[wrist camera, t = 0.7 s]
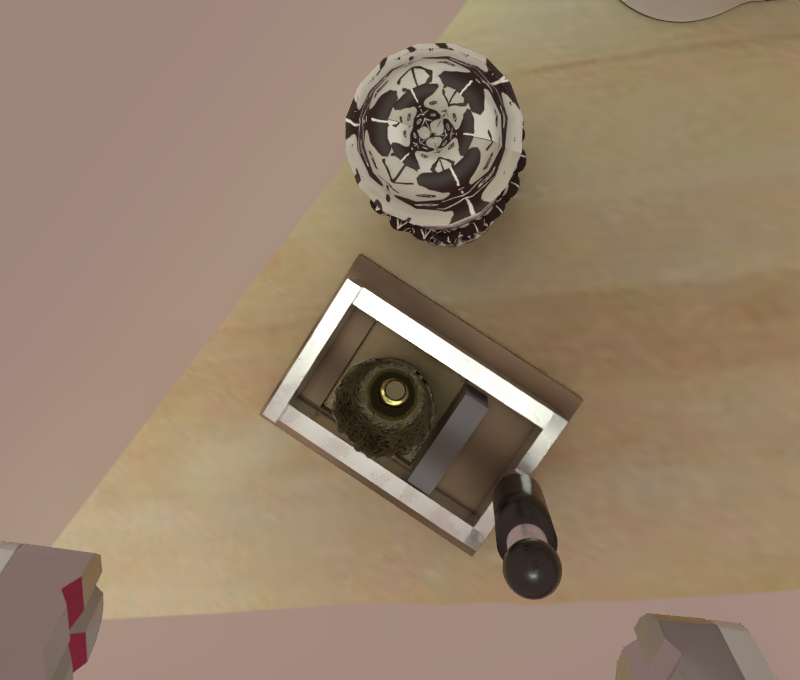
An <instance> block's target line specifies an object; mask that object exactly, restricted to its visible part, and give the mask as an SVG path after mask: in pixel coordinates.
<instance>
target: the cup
mask: <svg viewBox="0 0 800 680" xmlns="http://www.w3.org/2000/svg"><path fill="white" fill-rule="evenodd" d="M392 381H398V382H400V383H402V384H403V386H404V388H405V393H404V396H403V397H402V398H401V399H399V400H392V399H390V398H389V397H388V396H387V394H386V386H387V385H388V383H390V382H392ZM341 382H342V383H341V384H340V385H339V386H338V388H337V389H336V391H335V394H336V398H335V401H334V403H333V408H332V415H333V417H334V419H335V422H336V423H337V426H336V428H337V431H338V433H339V434H343V433H344V434H345V435H346V436H347V437H348V440H349V441H351V442H352V443H353V444H354V450H355V451H357V452H361V451H362V452H363V454H364V455H365V456H366V457H367V458H369V459H377V458H380V457H386V459H388V460H391V459H393V458H395V457H396V455H397V454H398V453H399V454H400V455H407V454H409V453H410V452H411V451H412V450H413V449H416V448H418V447H419V446H420V445H421V443H422V441H423V439H424V436H425V435H429V433H430V430H431V424H432V422H433V420H434V416H435V406H434V401H433V396H432V392H431V389H430V387H429V384H428V382H427V380H426V379H425V377H424V376H423V374H422V373H421V372H420V371H419V370H418V369H417V368H416V367H414V366H413V365H412V364H410V363H408V362H406V361H404V360H400V359H396V358H378V359H370V360H367V361H366V362H364V363H361V364H358V365H356V366H354V367H353V368H351V369H350V371H349V372H348V373H347V374H346V375H345V376H344V377H343V380H342V381H341Z"/></svg>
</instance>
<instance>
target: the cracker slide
mask: <svg viewBox="0 0 800 680" xmlns="http://www.w3.org/2000/svg"><path fill="white" fill-rule="evenodd" d="M356 306H357V307H358V308H360V309H361V310H363V311H364V312H366V313H368V314H369V315H371V316H372V317H374V318H375V319H377V320H378V321H380V322H381V323H383V324H384V325H386V326H387V327H389V328H390V329H392V330H393V331H395V332H396V333H398V334H399V335H401V336H403V337H404V338H406V339H407V340H409V341H410V342H412V343H413V344H415V345H416V346H418V347H419V348H421V349H422V350H424V351H425V352H427V353H428V354H430V355H431V356H433V357H434V358H436V359H437V360H439V361H441V362H442V363H444V364H445V365H447V366H448V367H450V368H451V369H453V370H454V371H456V372H457V373H459V374H460V375H462V376H463V377H465V378H466V379H468V380H469V381H471V382H472V383H474V384H476V385H477V386H479V387H480V388H482V389H483V390H485V391H486V392H488V393H489V394H491V395H492V396H494V397H495V398H497V399H498V400H500V401H501V402H503V403H504V404H506V405H507V406H509V407H511V408H512V409H514V410H515V411H517V412H518V413H520V414H521V415H523V416H524V417H526V418H527V419H529V420H530V421H532V422H533V423H535V424H536V426H535V427H534V429H533V430H532V432H531V433H530V435H529V436H528V437H527V439H526V440H525V442H524V443H523V444H522V446H521V447H520V449H519V450H518V452H517V453H516V454H515V456H514V457H513V459H512V460H511V462H510V463H509V464H508V466H507V467H506V469H505V470H504V472H503V473H502V474H501V476H500V477H499V479H498V480H497V481H496V483H495V484H494V486H493V487H492V489H491V490H490V491H489V493H488V494H487V496H486V497H485V499H484V500H483V501H482V503H481V504H480V506H479V507H478V509H477V510H476V511H475V513H474V514H473V513H472V512H470V511H469V510H467V509H466V508H464V507H463V506H461V505H460V504H458V503H457V502H455V501H454V500H452V499H451V498H449V497H448V496H446V495H445V494H443V493H442V492H440V491H439V490H437V489H436V488H434V490H433V491H432V492H431V494H430V495H428V494H427V493H425V492H424V491H422V490H421V489H419V488H418V487H416V486H415V485H413V484H412V483H410V482H409V481H407V480H408V477H409V474H410V471H409V470H407V469H406V468H404V467H403V466H401V465H400V464H398V463H397V462H395V461H394V460H392V459H391V460H388V459H386V457H380V458H377V459H369V458H367V457H366V456H365V455H364V454H363V452H362V451H361V452H357V451H355V450H354V444H353V443H352V442H351V441H349V440H348V437H347V436H346V435H345V434H344V433H343V434H339V433H338V431H337V428H336V426H337V423H336V422H335V421H333V420H332V419H330V418H329V417H327V416H326V415H324V414H323V413H321V412H320V411H318V410H317V409H315V408H314V407H312V406H311V405H309V404H308V403H306V402H305V401H303V400H302V399H300V398H299V396H300V394H301V393H302V391H303V390H304V388H305V386H306V385H307V383H308V382H309V380H310V379H311V377H312V375H313V374H314V372H315V371H316V369H317V368H318V366H319V364H320V363H321V361H322V360H323V358H324V356H325V355H326V353H327V352H328V350H329V349H330V347H331V345H332V344H333V342H334V341H335V339H336V338H337V336H338V334H339V333H340V331H341V330H342V328H343V326H344V325H345V323H346V322H347V320H348V319H349V317H350V315H351V314H352V312H353V311H354V309H355V308H356ZM263 415H264V416H266V417H267V418H269V419H270V420H272V421H273V422H275V423H276V422H277V421H278V420H280V421H281V422H283V423H284V424H286V425H287V426H289V427H290V428H292V429H293V430H295V431H296V432H298V433H299V434H301V435H302V436H304V437H305V438H307V439H308V440H310V441H311V442H313V443H314V444H316V445H317V446H319V447H320V448H322V449H323V450H325V451H326V452H328V453H329V454H331V455H332V456H334V457H335V458H337V459H338V460H340V461H341V462H343V463H344V464H346V465H347V466H349V467H350V468H352V469H353V470H355V471H356V472H358V473H359V474H361V475H362V476H364V477H365V478H367V479H368V480H370V481H371V482H373V483H374V484H376V485H377V486H379V487H380V488H382V489H383V490H385V491H386V492H388V493H389V494H391V495H392V496H394V497H395V498H397V499H398V500H400V501H401V502H403V503H404V504H406V505H407V506H409V507H410V508H412V509H413V510H415V511H416V512H418V513H419V514H421V515H422V516H424V517H425V518H427V519H428V520H430V521H431V522H433V523H434V524H436V525H437V526H439V527H440V528H442V529H443V530H445V531H446V532H448V533H449V534H451V535H452V536H454V537H455V538H457V539H458V540H460V541H461V542H463V543H464V544H466V545H467V546H469V547H470V548H471V549H473V550H474V551H477V550H478V548H479V547H480V545H481V544H482V543H483V541H484V540H485V538H486V537H487V536H488V534H489V533H490V531H491V530H492V528H493V527H494V526H495V531H496V542H497V549H498V552H499V554H500V556H501V558H502V559H503V574H504V578H505V580H506V582H507V584H508V585H509V587H510V588H511V589H512V590H513V591H514V592H515V593H516V594H518V595H519V596H521V597H523V598H527V599H533V600H536V599H542V598H545V597H547V596H549V595H550V594H552V593H553V592H554V591H555V590H556V588H557V587H558V585H559V583H560V580H561V576H562V565H561V561H560V558H559V556H558V554H557V552H556V551H557V536H556V533H555V530H554V527H553V524H552V521H551V517H550V514H549V511H548V508H547V505H546V502H545V499H544V496H543V493H542V490H541V487H540V486H539V484H538V483H537V482H536V481H535V480H534V479H533V478H531V477H530V475H531V474H532V472H533V471H534V469H535V468H536V467H537V465H538V464H539V462H540V461H541V460H542V458H543V457H544V455H545V454H546V452H547V451H548V450H549V448H550V447H551V445H552V444H553V443H554V441H555V440H556V438H557V437H558V436H559V434H560V433H561V431H562V430H563V429H564V427H565V426H566V424H567V423H568V421H567V419H566V418H565V416H564V415H563V413H561V412H560V411H558V410H557V409H555V408H554V407H552V406H551V405H549V404H548V403H546V402H545V401H543V400H542V399H540V398H539V397H537V396H535V395H534V394H532V393H531V392H529V391H528V390H526V389H525V388H523V387H522V386H520V385H519V384H517V383H516V382H514V381H513V380H511V379H510V378H508V377H506V376H505V375H503V374H502V373H500V372H499V371H497V370H496V369H494V368H493V367H491V366H490V365H488V364H487V363H485V362H484V361H482V360H481V359H479V358H478V357H476V356H474V355H473V354H471V353H470V352H468V351H467V350H465V349H464V348H462V347H461V346H459V345H458V344H456V343H455V342H453V341H452V340H450V339H449V338H447V337H445V336H444V335H442V334H441V333H439V332H438V331H436V330H435V329H433V328H432V327H430V326H429V325H427V324H426V323H424V322H423V321H421V320H420V319H418V318H416V317H415V316H413V315H412V314H410V313H409V312H407V311H406V310H404V309H403V308H401V307H400V306H398V305H397V304H395V303H394V302H392V301H391V300H389V299H388V298H386V297H384V296H383V295H381V294H380V293H378V292H377V291H375V290H374V289H372V288H371V287H369V286H368V285H366V284H365V283H363V282H362V281H360V280H359V279H357V278H352V279H347V280H346V282H345V283H344V285H343V287H342V288H341V290H340V291H339V293H338V295H337V296H336V298H335V299H334V301H333V302H332V304H331V306H330V307H329V309H328V310H327V312H326V314H325V315H324V317H323V318H322V320H321V322H320V323H319V325H318V326H317V328H316V330H315V331H314V333H313V334H312V336H311V338H310V339H309V341H308V342H307V344H306V346H305V347H304V349H303V350H302V352H301V354H300V355H299V357H298V358H297V360H296V362H295V363H294V365H293V366H292V368H291V370H290V371H289V373H288V374H287V376H286V378H285V379H284V381H283V382H282V384H281V386H280V387H279V389H278V390H277V392H276V393H275V395H274V397H273V398H272V400H271V401H270V403H269V405H268V406H267V408H266V409H265V411H264V413H263Z"/></svg>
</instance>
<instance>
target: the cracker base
mask: <svg viewBox="0 0 800 680" xmlns="http://www.w3.org/2000/svg"><path fill="white" fill-rule="evenodd" d="M352 278H357V279H359V280H360V281H362V282H363V283H365V284H366V285H368V286H369V287H371V288H372V289H374V290H375V291H377V292H378V293H380V294H381V295H383V296H384V297H386V298H388V299H389V300H391V301H392V302H394V303H395V304H397V305H398V306H400V307H401V308H403V309H404V310H406V311H407V312H409V313H410V314H412V315H413V316H415V317H416V318H418V319H420V320H421V321H423V322H424V323H426V324H427V325H429V326H430V327H432V328H433V329H435V330H436V331H438V332H439V333H441V334H442V335H444V336H445V337H447V338H449V339H450V340H452V341H453V342H455V343H456V344H458V345H459V346H461V347H462V348H464V349H465V350H467V351H468V352H470V353H471V354H473V355H474V356H476V357H478V358H479V359H481V360H482V361H484V362H485V363H487V364H488V365H490V366H491V367H493V368H494V369H496V370H497V371H499V372H500V373H502V374H503V375H505V376H506V377H508V378H510V379H511V380H513V381H514V382H516V383H517V384H519V385H520V386H522V387H523V388H525V389H526V390H528V391H529V392H531V393H532V394H534V395H535V396H537V397H539V398H540V399H542V400H543V401H545V402H546V403H548V404H549V405H551V406H552V407H554V408H555V409H557V410H558V411H560V412H561V413H563V415H564V416H565V418H566V419H567V421H569V420H570V418H571V417H572V416H573V414H574V413H575V411H576V410H577V409H578V407H579V406H580V404H581V403H582V401H583V399H582V398H580V397H579V396H577V395H576V394H574V393H573V392H571V391H570V390H568V389H567V388H565V387H564V386H562V385H561V384H559V383H558V382H556V381H555V380H553V379H551V378H550V377H548V376H547V375H545V374H544V373H542V372H541V371H539V370H538V369H536V368H535V367H533V366H532V365H530V364H529V363H527V362H525V361H524V360H522V359H521V358H519V357H518V356H516V355H515V354H513V353H512V352H510V351H509V350H507V349H506V348H504V347H503V346H501V345H499V344H498V343H496V342H495V341H493V340H492V339H490V338H489V337H487V336H486V335H484V334H483V333H481V332H480V331H478V330H477V329H475V328H473V327H472V326H470V325H469V324H467V323H466V322H464V321H463V320H461V319H460V318H458V317H457V316H455V315H454V314H452V313H451V312H449V311H447V310H446V309H444V308H443V307H441V306H440V305H438V304H437V303H435V302H434V301H432V300H431V299H429V298H428V297H426V296H425V295H423V294H421V293H420V292H418V291H417V290H415V289H414V288H412V287H411V286H409V285H408V284H406V283H405V282H403V281H402V280H400V279H399V278H397V277H395V276H394V275H392V274H391V273H389V272H388V271H386V270H385V269H383V268H382V267H380V266H379V265H377V264H376V263H374V262H373V261H371V260H369V259H368V258H366V257H365V256H363V255H362V254H359V255H358V257H357V259H356V260H355V262H354V263H353V265H352V267H351V268H350V270H349V271H348V273H347V275H346V276H345V278H344V279H343V281H342V283H341V284H340V286H339V287H338V289H337V291H336V292H335V294H334V295H333V297H332V299H331V300H330V302H329V303H328V305H327V307H326V308H325V310H324V311H323V313H322V315H321V316H320V318H319V319H318V321H317V323H316V324H315V326H314V327H313V329H312V331H311V332H310V334H309V335H308V337H307V339H306V340H305V342H304V343H303V345H302V347H301V348H300V350H299V351H298V353H297V355H296V356H295V358H294V359H293V361H292V363H291V364H290V366H289V367H288V369H287V371H286V372H285V374H284V375H283V377H282V379H281V380H280V382H279V383H278V385H277V387H276V388H275V390H274V391H273V393H272V395H271V396H270V398H269V399H268V401H267V402H266V404H265V406H264V407H263V409H262V410H261V412H260V414H259V415H261V416H262V417H264V418H265V419H267V420H268V421H270V422H271V423H273V424H274V425H276V426H277V427H279V428H280V429H282V430H283V431H285V432H286V433H288V434H289V435H291V436H292V437H294V438H295V439H297V440H298V441H300V442H301V443H303V444H304V445H306V446H307V447H309V448H310V449H312V450H313V451H315V452H316V453H318V454H319V455H321V456H322V457H324V458H325V459H327V460H328V461H330V462H331V463H333V464H334V465H336V466H337V467H339V468H340V469H342V470H343V471H345V472H346V473H348V474H349V475H351V476H352V477H354V478H355V479H357V480H358V481H360V482H361V483H363V484H364V485H366V486H367V487H369V488H370V489H372V490H373V491H375V492H376V493H378V494H379V495H381V496H382V497H384V498H385V499H387V500H388V501H390V502H391V503H393V504H394V505H396V506H397V507H399V508H400V509H402V510H403V511H405V512H406V513H408V514H409V515H411V516H412V517H414V518H415V519H417V520H418V521H419V522H421V523H422V524H424V525H425V526H427V527H428V528H430V529H431V530H433V531H434V532H436V533H437V534H439V535H440V536H442V537H443V538H445V539H446V540H448V541H449V542H451V543H452V544H454V545H455V546H457V547H458V548H460V549H461V550H463V551H464V552H466V553H467V554H469V555H470V556H473V555H474V553H475V552H476V551H474V550H473V549H471V548H470V547H469V546H467V545H466V544H464V543H463V542H461V541H460V540H458V539H457V538H455V537H454V536H452V535H451V534H449V533H448V532H446V531H445V530H443V529H442V528H440V527H439V526H437V525H436V524H434V523H433V522H431V521H430V520H428V519H427V518H425V517H424V516H422V515H421V514H419V513H418V512H416V511H415V510H413V509H412V508H410V507H409V506H407V505H406V504H404V503H403V502H401V501H400V500H398V499H397V498H395V497H394V496H392V495H391V494H389V493H388V492H386V491H385V490H383V489H382V488H380V487H379V486H377V485H376V484H374V483H373V482H371V481H370V480H368V479H367V478H365V477H364V476H362V475H361V474H359V473H358V472H356V471H355V470H353V469H352V468H350V467H349V466H347V465H346V464H344V463H343V462H341V461H340V460H338V459H337V458H335V457H334V456H332V455H331V454H329V453H328V452H326V451H325V450H323V449H322V448H320V447H319V446H317V445H316V444H314V443H313V442H311V441H310V440H308V439H307V438H305V437H304V436H302V435H301V434H299V433H298V432H296V431H295V430H293V429H292V428H290V427H289V426H287V425H286V424H284V423H283V422H281V421H280V420H278V421H277V422H276V423H275V422H273V421H272V420H270V419H269V418H267V417H266V416H264V415H263V413H264V411H265V409H266V408H267V406H268V405H269V403H270V401H271V400H272V398H273V397H274V395H275V393H276V392H277V390H278V389H279V387H280V386H281V384H282V382H283V381H284V379H285V378H286V376H287V374H288V373H289V371H290V370H291V368H292V366H293V365H294V363H295V362H296V360H297V358H298V357H299V355H300V354H301V352H302V350H303V349H304V347H305V346H306V344H307V342H308V341H309V339H310V338H311V336H312V334H313V333H314V331H315V330H316V328H317V326H318V325H319V323H320V322H321V320H322V318H323V317H324V315H325V314H326V312H327V310H328V309H329V307H330V306H331V304H332V302H333V301H334V299H335V298H336V296H337V295H338V293H339V291H340V290H341V288H342V287H343V285H344V283H345V282H346V280H347V279H352ZM376 320H377V319H375V318H374V317H372V316H371V315H369V314H368V313H366V312H364V311H363V310H361V309H360V308H358V307H357V306H356V308H355V309H354V311H353V312H352V314H351V315H350V317H349V319H348V320H347V322H346V323H345V325H344V326H343V328H342V330H341V331H340V333H339V334H338V336H337V338H336V339H335V341H334V342H333V344H332V345H331V347H330V349H329V350H328V352H327V353H326V355H325V356H324V358H323V360H322V361H321V363H320V364H319V366H318V368H317V369H316V371H315V372H314V374H313V375H312V377H311V379H310V380H309V382H308V383H307V385H306V386H305V388H304V390H303V391H302V393H301V394H300V396H299V398H300V399H302V400H303V401H305V402H306V403H308V404H309V405H311V406H312V407H314V408H315V409H317V410H318V411H320V412H321V413H323V414H324V415H326V416H327V417H329V418H330V419H332V420H333V421H335V419H334V417H333V415H332V410H330V409H329V408H327V407H326V406H324V405H323V403H324V401H325V400H326V398H327V397H328V395H329V394H330V392H331V391H332V389H333V387H334V386H335V384H336V383H337V381H338V380H339V378H340V377H341V375H342V373H343V372H344V370H345V369H346V367H347V366H348V364H349V362H350V361H351V359H352V358H353V356H354V355H355V353H356V352H357V350H358V348H359V347H360V345H361V344H362V342H363V341H364V339H365V338H366V336H367V334H368V333H369V331H370V330H371V328H372V327H373V325H374V323H375V322H376ZM535 426H536V424H535V423H533V422H532V421H530V420H529V419H527V418H526V417H524V416H523V415H521V414H520V413H518V412H517V411H515V410H514V409H512V408H511V407H509V406H507V405H506V404H504V403H503V402H501V401H500V400H498V399H497V398H495V397H494V396H492V395H491V394H489V393H488V392H486V391H485V390H483V389H482V388H480V387H479V386H477V385H476V384H474V383H472V382H471V381H469V380H468V379H467V381H466V382H465V384H464V385H463V387H462V388H461V390H460V391H459V393H458V394H457V396H456V397H455V399H454V400H453V402H452V403H451V405H450V406H449V408H448V409H447V410H446V412H445V413H444V415H443V416H442V418H441V419H440V421H439V422H438V424H437V425H436V427H435V428H434V430H433V431H432V433H431V434H430V436H429V437H428V439H427V440H426V442H425V443H424V445H423V446H422V447H421V449H420V450H419V452H418V453H417V455H416V456H415V458H414V459H413V461H412V462H411V463H410V462H409V461H407V460H406V459H404V458H403V457H401V456H400V455H398V454H397V455H396V457H395V458H393V459H392V460H394V461H395V462H397V463H398V464H400V465H401V466H403V467H404V468H406V469H407V470H409V471H410V474H409V477H408V480H407V481H409V482H410V483H412V484H413V485H415V486H416V487H418V488H419V489H421V490H422V491H424V492H425V493H427V494H428V495H430V494H431V492H432V491H433V490H434V488H436V489H437V490H439V491H440V492H442V493H443V494H445V495H446V496H448V497H449V498H451V499H452V500H454V501H455V502H457V503H458V504H460V505H461V506H463V507H464V508H466V509H467V510H469V511H470V512H472V513H473V514H474V513H475V511H476V510H477V509H478V507H479V506H480V504H481V503H482V501H483V500H484V499H485V497H486V496H487V494H488V493H489V491H490V490H491V489H492V487H493V486H494V484H495V483H496V481H497V480H498V479H499V477H500V476H501V474H502V473H503V472H504V470H505V469H506V467H507V466H508V464H509V463H510V462H511V460H512V459H513V457H514V456H515V454H516V453H517V452H518V450H519V449H520V447H521V446H522V444H523V443H524V442H525V440H526V439H527V437H528V436H529V435H530V433H531V432H532V430H533V429H534V427H535Z"/></svg>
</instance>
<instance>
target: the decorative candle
mask: <svg viewBox="0 0 800 680" xmlns="http://www.w3.org/2000/svg"><path fill="white" fill-rule="evenodd" d="M522 125H524V124H523V116H522V113H521V110H520V108H519V105H518V102H517V100H516V97H515V94H514V92H513V89H512V86H511V84H510V82H509V81H508V80H507V79H506V78H505V77H504V76H503V75H502V74H501V73H500V72H499V70H498V69H497V68H496V67H495V66H494V65H493V64H492V63H491V62H490V61H489V60H488V59H487V58H486V57H485V56H483V55H480V54H478V53H475V52H473V51H470V50H468V49H465V48H463V47H461V46H458V45H456V44H453V43H433V44H415V45H413V46H411V47H409V48H406V49H404V50H402V51H400V52H398V53H395V54H393V55H391V56H389V57H386V58H384V59H383V60H382V61H381V62H380V63H379V64H378V66H377V67H376V68H375V69H374V70H373V71H372V72H371V73H370V74H369V75H368V76H367V77H366V78H365V79H364V80H363V81H362V82H361V83H360V84H359V87H358V89H357V91H356V94H355V96H354V99H353V101H352V104H351V106H350V109H349V112H348V114H347V116H346V156H347V159H348V161H349V164H350V166H351V169H352V171H353V174H354V176H355V179H356V182H357V184H358V186H359V188H360V189H361V190H362V191H363V192H364V193H365V194H366V195H367V196H368V197H369V198H370V199H371V200H370V204H371V206H372V208H373V209H374V210H375V211H376V212H377V213H378V214H381V215H387V216H389V221H390V224H391V226H392V227H393V228H394V229H395V230H398V231H406V232H410V233H411V234H413V236H414V237H416V238H417V239H419V240H422V241H425V240H426V241H427V242H428V243H430V244H432V245H435V246H437V245H438V246H448V247H455V246H460V245H463V244H465V243H470V242H472V241H473V240H475V239H477V238H479V237H480V236H481V235H482V234H484V233H485V232H487V231H488V229H489V227H490V226H491V225H492V224H493V222H494V220H496V219H497V218H498V217H499V216H500V215H501V214H502V213H503V211H504V209H505V204H506V203H507V202H508V201H509V200H510V198H511V197H513V196H514V195H515V194H516V193H517V191H518V189H519V185H520V181H519V177H518V172H520V171H522V170H523V169H524V167H525V164H526V154H525V152H524V150H523V149H522V141H523V140H524V137H525V132H524V129H523V127H522Z"/></svg>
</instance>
